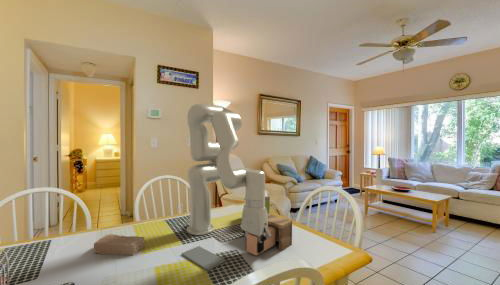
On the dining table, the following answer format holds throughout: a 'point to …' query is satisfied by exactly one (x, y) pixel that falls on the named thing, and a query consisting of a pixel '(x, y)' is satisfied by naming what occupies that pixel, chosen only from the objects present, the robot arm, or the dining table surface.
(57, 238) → the dining table surface
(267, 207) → the tea box
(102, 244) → the brick
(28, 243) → the dining table surface
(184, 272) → the dining table surface
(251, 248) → the block
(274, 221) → the cubby
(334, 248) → the dining table surface
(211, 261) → the mat
